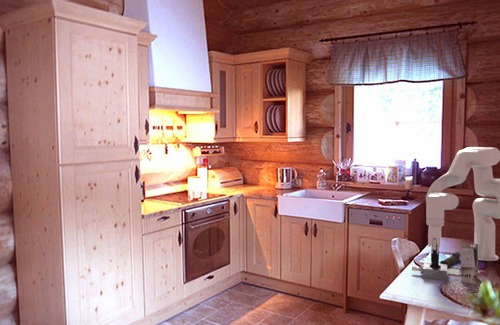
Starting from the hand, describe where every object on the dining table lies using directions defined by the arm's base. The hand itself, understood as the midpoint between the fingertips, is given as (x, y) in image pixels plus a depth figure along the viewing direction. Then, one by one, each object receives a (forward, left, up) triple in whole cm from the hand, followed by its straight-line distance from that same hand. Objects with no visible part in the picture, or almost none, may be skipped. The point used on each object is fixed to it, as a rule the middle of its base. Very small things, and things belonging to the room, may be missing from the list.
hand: (435, 260), depth 195 cm
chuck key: (0, 0, -3) cm, 3 cm away
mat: (-10, +6, -8) cm, 14 cm away
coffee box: (-1, +14, -8) cm, 16 cm away
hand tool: (-24, +6, -8) cm, 26 cm away
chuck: (0, -2, -8) cm, 8 cm away
